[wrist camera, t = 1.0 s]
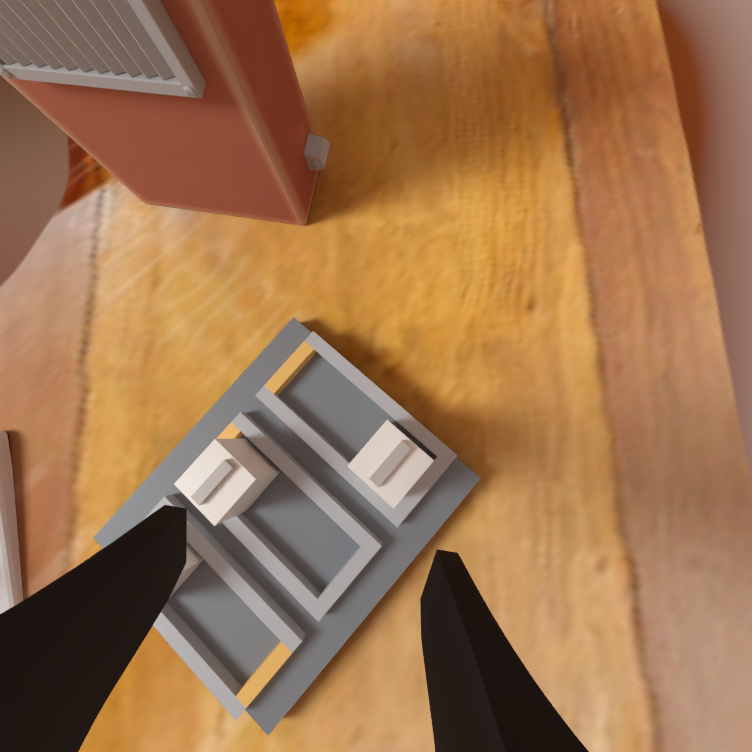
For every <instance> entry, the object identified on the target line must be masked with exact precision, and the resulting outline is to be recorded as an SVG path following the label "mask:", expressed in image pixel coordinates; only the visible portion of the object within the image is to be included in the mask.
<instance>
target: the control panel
mask: <svg viewBox="0 0 752 752" xmlns="http://www.w3.org/2000/svg"><path fill="white" fill-rule="evenodd" d="M0 75H1V76H2V77H3V78H5V79H6V80H7V81H8V82H9V83H10V84H11V85H12V86H14V87H15V88H16V89H17V90H18V91H19V92H20V93H22V95H24V96H25V97H26V98H27V99H28V100H29V101H30V102H32V103H33V104H34V105H35V106H36V107H37V108H38V109H39V110H40V111H42V112H43V113H44V114H45V115H46V116H47V117H48V118H49V119H51V120H52V121H53V122H54V123H55V124H56V125H57V126H58V127H60V128H61V129H62V130H63V131H64V132H65V133H66V134H67V135H68V136H70V137H71V138H72V139H73V140H74V141H75V142H76V143H77V144H79V145H80V146H81V147H82V148H83V149H84V150H85V151H86V152H87V153H89V154H90V155H91V156H92V157H93V158H94V159H95V160H96V161H98V162H99V163H100V164H101V165H102V166H103V167H104V168H105V169H107V170H108V171H109V172H110V173H111V174H112V175H113V176H114V177H115V178H117V179H118V180H119V181H120V182H121V183H122V184H123V185H124V186H126V187H127V188H128V189H129V190H130V191H131V192H132V193H133V194H135V195H136V196H137V197H138V198H139V199H140V200H141V201H142V202H144V203H146V204H153V205H160V206H167V207H174V208H182V209H189V210H196V211H203V212H210V213H218V214H225V215H232V216H239V217H247V218H254V219H261V220H268V221H275V222H283V223H290V224H297V225H306V223H307V219H308V215H309V210H310V206H311V202H312V198H313V193H314V189H315V185H316V181H317V176H318V172H319V170H324V169H325V165H326V161H327V157H328V153H329V148H330V144H329V142H328V141H327V140H326V138H324V137H321V136H317V135H314V133H313V129H312V126H311V123H310V119H309V116H308V113H307V109H306V106H305V103H304V99H303V96H302V93H301V89H300V86H299V83H298V79H297V76H296V73H295V69H294V66H293V63H292V59H291V56H290V53H289V49H288V46H287V43H286V39H285V36H284V33H283V29H282V26H281V23H280V19H279V16H278V13H277V9H276V6H275V3H274V0H0Z"/></svg>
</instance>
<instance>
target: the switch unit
mask: <svg viewBox="0 0 752 752" xmlns="http://www.w3.org/2000/svg"><path fill="white" fill-rule="evenodd" d="M386 420H388V421H389V422H390V423H392V424H393V425H394V426H395V427H396V428H397V429H398V430H400V431H401V432H402V433H403V434H404V435H405V436H406V437H408V438H409V439H410V440H411V441H412V442H413V443H414V444H416V445H417V446H418V447H419V448H420V449H421V450H422V451H424V452H425V453H426V454H427V455H428V456H429V457H431V458H432V459H433V460H434V461H433V463H432V464H431V465H430V466H429V467H428V468H427V470H426V471H425V472H424V473H423V474H422V476H421V477H420V478H419V479H418V480H417V482H416V483H415V484H414V485H413V486H412V487H411V489H410V490H409V491H408V492H407V493H406V495H405V496H404V497H403V498H402V499H401V501H400V502H399V503H398V504H397V505H396V506H395V508H394V509H393V508H392V507H391V506H390V505H389V504H388V503H387V502H386V501H384V500H383V499H382V498H381V497H380V496H379V495H378V494H377V493H376V492H375V491H374V490H373V489H371V488H370V487H369V486H368V485H367V484H366V483H365V482H364V481H363V480H362V479H361V478H359V477H358V476H357V475H356V474H355V473H354V472H353V471H352V470H351V469H350V468H349V467H348V464H349V463H350V462H351V461H352V460H353V459H354V458H355V456H356V455H357V454H358V453H359V452H360V451H361V449H362V448H363V447H364V446H365V445H366V444H367V442H368V441H369V440H370V439H371V438H372V437H373V435H374V434H375V433H376V432H377V431H378V430H379V429H380V427H381V426H382V425H383V424H384V423H385V422H386ZM231 438H246V439H247V440H248V441H249V442H250V443H251V444H252V445H253V446H254V447H255V448H256V449H257V450H258V451H259V452H260V453H261V454H262V455H263V456H264V457H265V458H267V459H268V460H269V461H270V462H271V463H272V464H273V465H274V466H275V467H276V468H277V469H278V470H279V471H280V473H279V474H278V475H277V476H276V478H275V479H274V480H273V481H272V482H271V483H270V484H269V486H268V487H267V488H266V489H265V490H264V491H263V492H262V494H261V495H260V496H259V497H258V498H257V499H256V500H255V502H254V503H253V504H252V505H251V506H250V507H249V508H248V510H247V511H245V512H243V513H241V514H239V515H237V516H235V517H233V518H231V519H228V520H226V521H224V522H222V523H220V524H218V525H216V526H214V525H213V524H212V523H211V522H210V521H209V520H208V519H207V518H206V517H205V516H204V515H203V514H202V513H201V512H200V511H199V510H198V509H197V508H196V507H195V506H194V504H193V503H192V502H191V501H190V500H189V499H188V498H187V497H186V496H185V495H184V494H183V493H182V492H181V491H180V490H179V489H178V488H177V487H176V486H175V485H174V484H175V482H176V481H177V480H178V479H179V478H180V477H181V476H182V475H183V474H184V472H185V471H186V470H187V469H188V468H189V467H190V466H191V465H192V464H193V462H194V461H195V460H196V459H197V458H198V457H199V456H200V455H201V454H202V452H203V451H204V450H205V449H206V448H207V447H208V446H209V445H210V444H211V442H212V441H213V440H214V439H231ZM457 456H458V455H457V454H456V453H455V452H453V451H452V450H451V449H450V448H449V447H448V446H446V445H445V444H444V443H443V442H442V441H441V440H439V439H438V438H437V437H436V436H435V435H434V434H432V433H431V432H430V431H429V430H428V429H427V428H425V427H424V426H423V425H422V424H421V423H420V422H418V421H417V420H416V419H415V418H414V417H413V416H412V415H410V414H409V413H408V412H407V411H406V410H405V409H403V408H402V407H401V406H400V405H399V404H398V403H396V402H395V401H394V400H393V399H392V398H391V397H389V396H388V395H387V394H386V393H385V392H384V391H382V390H381V389H380V388H379V387H378V386H377V385H375V384H374V383H373V382H372V381H371V380H370V379H368V378H367V377H366V376H365V375H364V374H363V373H361V372H360V371H359V370H358V369H357V368H356V367H354V366H353V365H352V364H351V363H350V362H349V361H348V360H346V359H345V358H344V357H343V356H342V355H341V354H339V353H338V352H337V351H336V350H335V349H334V348H332V347H331V346H330V345H329V344H328V343H327V342H325V341H324V340H323V339H322V338H321V337H320V336H318V335H317V334H316V333H315V332H314V331H313V332H312V333H311V332H310V331H309V330H308V329H307V328H306V327H305V326H303V325H302V324H301V323H300V322H299V321H298V320H296V319H295V318H294V317H293V318H292V319H291V321H290V322H289V323H288V324H287V325H286V326H285V327H284V328H283V329H282V330H281V332H280V333H279V334H278V335H277V336H276V337H275V338H274V339H273V340H272V341H271V343H270V344H269V345H268V346H267V347H266V348H265V349H264V350H263V351H262V352H261V354H260V355H259V356H258V357H257V358H256V359H255V360H254V361H253V362H252V364H251V365H250V366H249V367H248V368H247V369H246V370H245V371H244V372H243V373H242V375H241V376H240V377H239V378H238V379H237V380H236V381H235V382H234V383H233V384H232V386H231V387H230V388H229V389H228V390H227V391H226V392H225V393H224V394H223V395H222V397H221V398H220V399H219V400H218V401H217V402H216V403H215V404H214V405H213V406H212V408H211V409H210V410H209V411H208V412H207V413H206V414H205V415H204V416H203V417H202V419H201V420H200V421H199V422H198V423H197V424H196V425H195V426H194V427H193V428H192V430H191V431H190V432H189V433H188V434H187V435H186V436H185V437H184V438H183V439H182V441H181V442H180V443H179V444H178V445H177V446H176V447H175V448H174V449H173V450H172V452H171V453H170V454H169V455H168V456H167V457H166V458H165V459H164V460H163V461H162V463H161V464H160V465H159V466H158V467H157V468H156V469H155V470H154V471H153V473H152V474H151V475H150V476H149V477H148V478H147V479H146V480H145V481H144V482H143V484H142V485H141V486H140V487H139V488H138V489H137V490H136V491H135V492H134V493H133V495H132V496H131V497H130V498H129V499H128V500H127V501H126V502H125V503H124V504H123V506H122V507H121V508H120V509H119V510H118V511H117V512H116V513H115V514H114V515H113V517H112V518H111V519H110V520H109V521H108V522H107V523H106V524H105V525H104V526H103V528H102V529H101V530H100V531H99V532H98V533H97V534H96V535H95V536H94V537H93V538H94V539H95V540H96V541H97V542H98V544H99V545H100V546H101V547H102V548H105V547H106V546H107V545H109V544H110V543H112V542H113V541H115V540H116V539H117V538H119V537H120V536H122V535H123V534H124V533H126V532H127V531H129V530H130V529H131V528H133V527H134V526H136V525H137V524H138V523H140V522H141V521H143V520H144V519H145V518H147V517H148V516H149V515H151V514H152V513H154V512H155V511H157V510H158V509H159V508H161V507H162V506H164V505H169V506H175V507H181V508H187V542H188V543H189V544H190V545H191V546H192V547H193V548H194V549H195V550H196V551H197V552H198V553H199V555H200V556H201V557H202V558H203V559H204V560H203V561H202V562H201V563H200V564H199V565H198V567H197V568H196V569H195V570H194V571H193V572H192V573H191V575H190V576H189V577H188V578H187V579H186V580H185V581H184V583H183V584H182V585H181V586H180V587H179V588H178V589H177V590H176V592H175V593H174V594H173V595H172V596H171V597H170V598H169V599H168V601H167V603H166V604H165V606H164V608H163V609H162V611H161V613H160V614H159V616H158V618H157V619H156V621H155V622H154V624H153V626H154V627H155V628H156V630H157V631H158V632H159V633H160V634H161V635H162V637H163V638H164V639H165V640H166V641H167V642H168V643H169V645H170V646H171V647H172V648H173V649H174V650H175V651H176V653H177V654H178V655H179V656H180V657H181V658H182V659H183V661H184V662H185V663H186V664H187V665H188V666H189V667H190V669H191V670H192V671H193V672H194V673H195V674H196V676H197V677H198V678H199V679H200V680H201V681H202V682H203V684H204V685H205V686H206V687H207V688H208V689H209V690H210V692H211V693H212V694H213V695H214V696H215V697H216V698H217V700H218V701H219V702H220V703H221V704H222V705H223V706H224V708H225V709H226V710H227V711H228V712H229V713H230V714H231V716H232V717H233V718H234V719H235V720H237V719H238V717H239V716H240V715H241V714H242V713H243V711H244V710H246V711H247V712H248V714H249V715H250V716H251V717H252V718H253V719H254V720H255V721H256V723H257V724H258V725H259V726H260V727H261V728H262V729H263V731H264V732H265V733H266V734H267V735H269V734H270V733H271V732H272V730H273V729H274V728H275V727H276V725H277V724H278V723H279V722H280V721H281V719H282V718H283V717H284V716H285V715H286V713H287V712H288V711H289V710H290V709H291V707H292V706H293V705H294V704H295V703H296V701H297V700H298V699H299V698H300V696H301V695H302V694H303V693H304V692H305V690H306V689H307V688H308V687H309V686H310V684H311V683H312V682H313V681H314V680H315V678H316V677H317V676H318V675H319V673H320V672H321V671H322V670H323V669H324V667H325V666H326V665H327V664H328V663H329V661H330V660H331V659H332V658H333V657H334V655H335V654H336V653H337V652H338V650H339V649H340V648H341V647H342V646H343V644H344V643H345V642H346V641H347V640H348V638H349V637H350V636H351V635H352V634H353V632H354V631H355V630H356V629H357V628H358V626H359V625H360V624H361V623H362V621H363V620H364V619H365V618H366V617H367V615H368V614H369V613H370V612H371V611H372V609H373V608H374V607H375V606H376V605H377V603H378V602H379V601H380V600H381V598H382V597H383V596H384V595H385V594H386V592H387V591H388V590H389V589H390V588H391V586H392V585H393V584H394V583H395V582H396V580H397V579H398V578H399V577H400V575H401V574H402V573H403V572H404V571H405V569H406V568H407V567H408V566H409V565H410V563H411V562H412V561H413V560H414V559H415V557H416V556H417V555H418V554H419V552H420V551H421V550H422V549H423V548H424V546H425V545H426V544H427V543H428V542H429V540H430V539H431V538H432V537H433V536H434V534H435V533H436V532H437V531H438V530H439V528H440V527H441V526H442V525H443V523H444V522H445V521H446V520H447V519H448V517H449V516H450V515H451V514H452V513H453V511H454V510H455V509H456V508H457V507H458V505H459V504H460V503H461V502H462V500H463V499H464V498H465V497H466V496H467V494H468V493H469V492H470V491H471V490H472V488H473V487H474V486H475V485H476V484H477V482H478V481H479V480H480V479H481V478H480V477H479V476H478V475H476V474H475V473H474V472H473V471H472V470H471V469H469V468H468V467H467V466H466V465H465V464H464V463H462V462H461V461H460V460H459V459H458V458H457Z"/></svg>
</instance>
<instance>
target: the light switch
mask: <svg viewBox="0 0 752 752" xmlns="http://www.w3.org/2000/svg"><path fill="white" fill-rule="evenodd" d="M22 601H23V591H22V579H21V566H20V554H19V542H18V530H17V517H16V505H15V493H14V481H13V469H12V462H11V455H10V448H9V441H8V435H7V433H6V432H4V431H0V614H1V613H3V612H5V611H6V610H8V609H10V608H12V607H13V606H15V605H17V604H18V603H20V602H22Z"/></svg>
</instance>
